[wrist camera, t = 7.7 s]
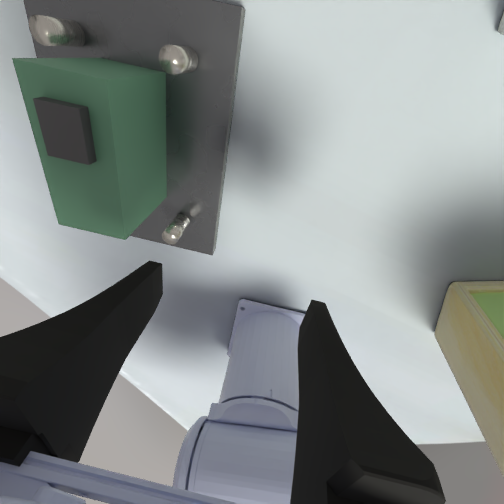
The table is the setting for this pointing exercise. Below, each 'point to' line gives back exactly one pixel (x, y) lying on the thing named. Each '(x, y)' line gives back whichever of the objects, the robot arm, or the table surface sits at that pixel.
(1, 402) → the robot arm
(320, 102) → the table surface
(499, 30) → the skincare box
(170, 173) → the plate
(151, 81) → the circuit block
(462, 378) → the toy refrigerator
